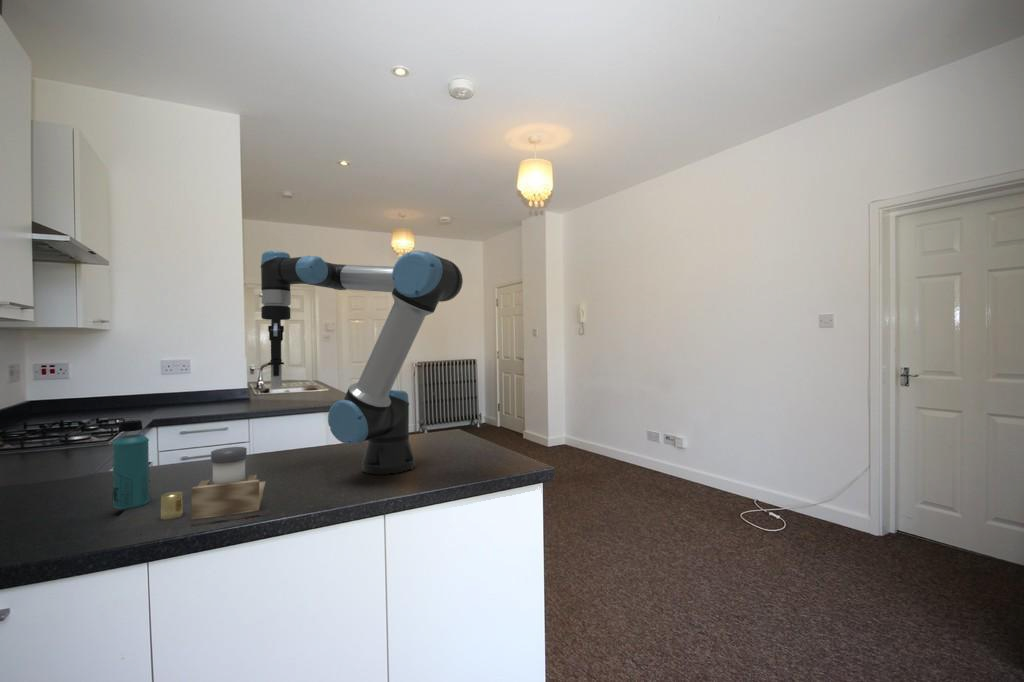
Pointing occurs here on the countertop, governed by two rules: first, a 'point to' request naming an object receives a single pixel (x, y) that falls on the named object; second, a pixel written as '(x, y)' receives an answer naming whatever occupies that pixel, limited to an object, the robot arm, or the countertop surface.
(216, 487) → the mount
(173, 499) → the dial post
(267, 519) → the countertop surface
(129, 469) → the beverage bottle
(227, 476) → the grey-lidded white jar
